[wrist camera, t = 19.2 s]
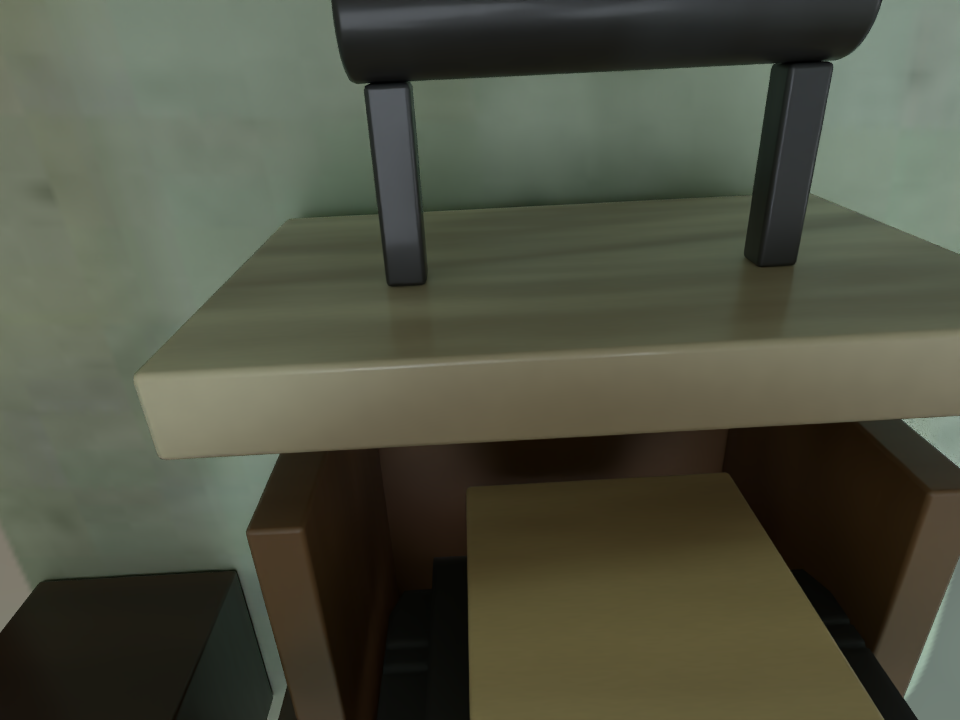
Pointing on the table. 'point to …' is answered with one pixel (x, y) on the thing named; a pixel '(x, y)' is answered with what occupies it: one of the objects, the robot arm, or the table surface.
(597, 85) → the table surface
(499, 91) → the table surface
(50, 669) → the post
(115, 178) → the table surface
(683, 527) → the block
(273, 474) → the drawer
